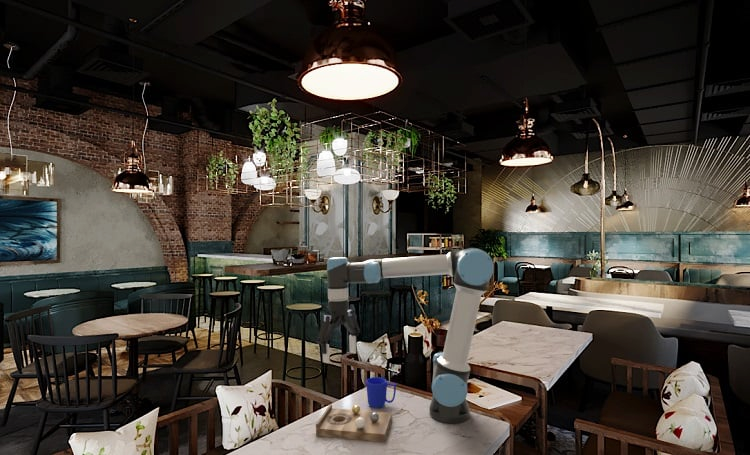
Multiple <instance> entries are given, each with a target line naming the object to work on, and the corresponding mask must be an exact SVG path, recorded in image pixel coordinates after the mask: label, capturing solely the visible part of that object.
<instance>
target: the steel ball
mask: <svg viewBox="0 0 750 455" xmlns="http://www.w3.org/2000/svg"><path fill="white" fill-rule="evenodd" d="M373 412H374V413H372V414H371V415H370V420H371V421H372V422H377V421H378V420H379V415H378V414H377V413H375V412H376V411H373Z"/></svg>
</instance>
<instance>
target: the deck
mask: <svg viewBox="0 0 750 455" xmlns="http://www.w3.org/2000/svg"><path fill="white" fill-rule="evenodd" d="M374 412H375V413H377V414H378V415H379V420H378V421H377V422H372V421H371V420H370V415H371V414H372V413H374ZM359 417H361V418H363V419H364V420H365V426H364V427H363V428H361V429H359V428H357V427H356V425H355V421H356V419H357V418H359ZM392 421H393V413H392V412H385V411H383V412H382V411H373V410H372V411H368V410H360V412H359V413H358V414H354V413H353V412H352V409H347V408H346V409H345V408H334V407H333V404H332V403H331V404H328V406H327V408H326V409H325V411H324V412H323V413H322V415H321V417H320V418H319V419H318V421H317V422H316V423H315V436H316V437H327V438H338V439H349V440H358V441H359V440H360V441H361V440H362V441H371V442H380V443H381V442H383V443H385V442H386V439H387V436H388V433H389V430H390V427H391V424H392Z"/></svg>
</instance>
